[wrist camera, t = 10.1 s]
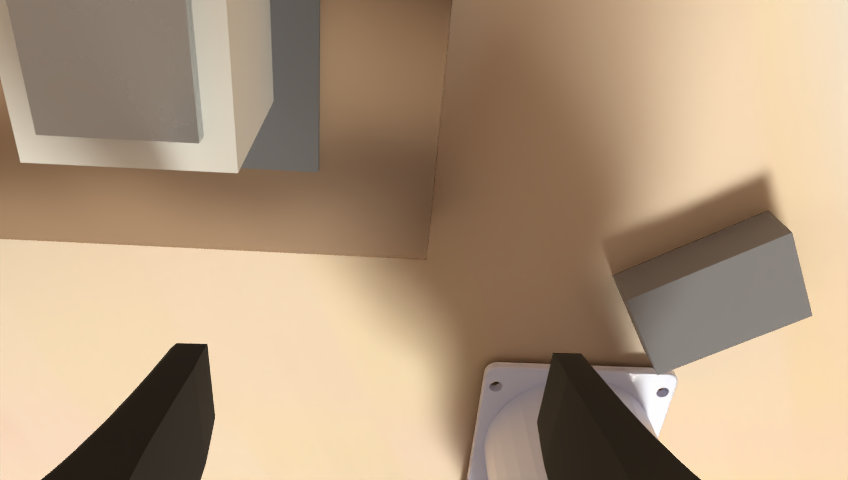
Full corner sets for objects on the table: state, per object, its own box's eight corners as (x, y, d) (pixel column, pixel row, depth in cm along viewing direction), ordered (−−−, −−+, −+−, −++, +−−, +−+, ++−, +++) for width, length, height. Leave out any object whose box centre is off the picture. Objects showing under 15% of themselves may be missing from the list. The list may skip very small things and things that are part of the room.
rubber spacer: (784, 285, 27) (812, 315, 25) (640, 342, 28) (657, 375, 26) (763, 206, 25) (791, 232, 23) (610, 270, 26) (626, 300, 24)
